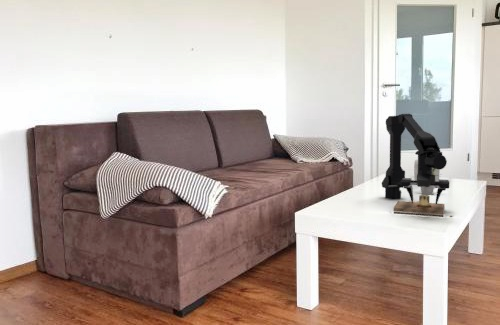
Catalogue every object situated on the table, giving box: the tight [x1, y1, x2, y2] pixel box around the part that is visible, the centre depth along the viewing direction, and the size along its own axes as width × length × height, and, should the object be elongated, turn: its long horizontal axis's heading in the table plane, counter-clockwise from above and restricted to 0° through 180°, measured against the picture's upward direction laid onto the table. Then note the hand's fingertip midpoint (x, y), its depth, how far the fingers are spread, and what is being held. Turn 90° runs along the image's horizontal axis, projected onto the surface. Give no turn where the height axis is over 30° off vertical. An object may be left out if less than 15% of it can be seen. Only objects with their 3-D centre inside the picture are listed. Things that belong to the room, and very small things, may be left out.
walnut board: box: [393, 200, 445, 218], centre depth 197 cm, size 19×23×3 cm
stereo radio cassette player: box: [413, 159, 441, 188], centre depth 254 cm, size 21×8×20 cm, turn 178°
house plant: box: [417, 165, 443, 196], centre depth 227 cm, size 14×14×16 cm
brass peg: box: [418, 194, 431, 208], centre depth 191 cm, size 4×4×7 cm
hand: (424, 203), depth 191 cm, fingers open, 9 cm apart
